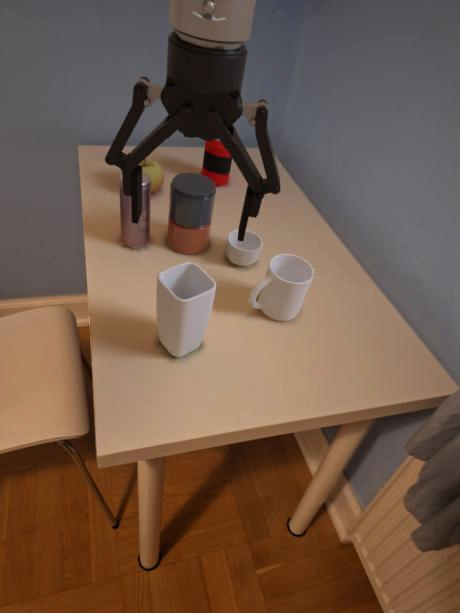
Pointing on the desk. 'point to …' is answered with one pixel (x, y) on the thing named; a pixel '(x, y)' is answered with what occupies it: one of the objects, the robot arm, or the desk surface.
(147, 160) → the apple
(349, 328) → the desk surface
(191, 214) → the tumbler stack
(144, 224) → the beverage can
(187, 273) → the cup
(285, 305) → the mug
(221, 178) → the soda can
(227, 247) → the teacup
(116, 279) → the desk surface
